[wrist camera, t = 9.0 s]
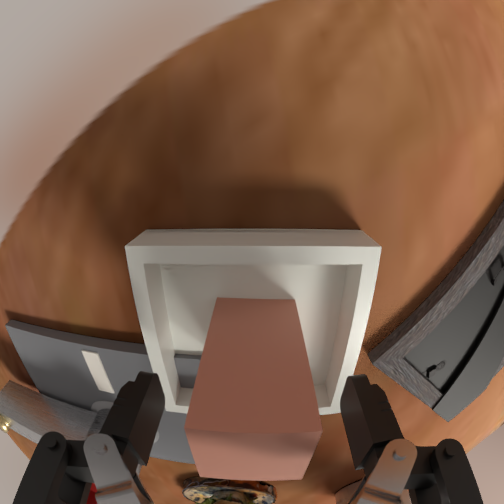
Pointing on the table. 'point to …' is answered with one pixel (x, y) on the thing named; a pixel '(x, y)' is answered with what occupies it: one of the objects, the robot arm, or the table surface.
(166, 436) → the crank plate
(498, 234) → the picture frame
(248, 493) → the burger
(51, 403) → the crank
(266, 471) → the block
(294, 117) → the table surface
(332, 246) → the tray
